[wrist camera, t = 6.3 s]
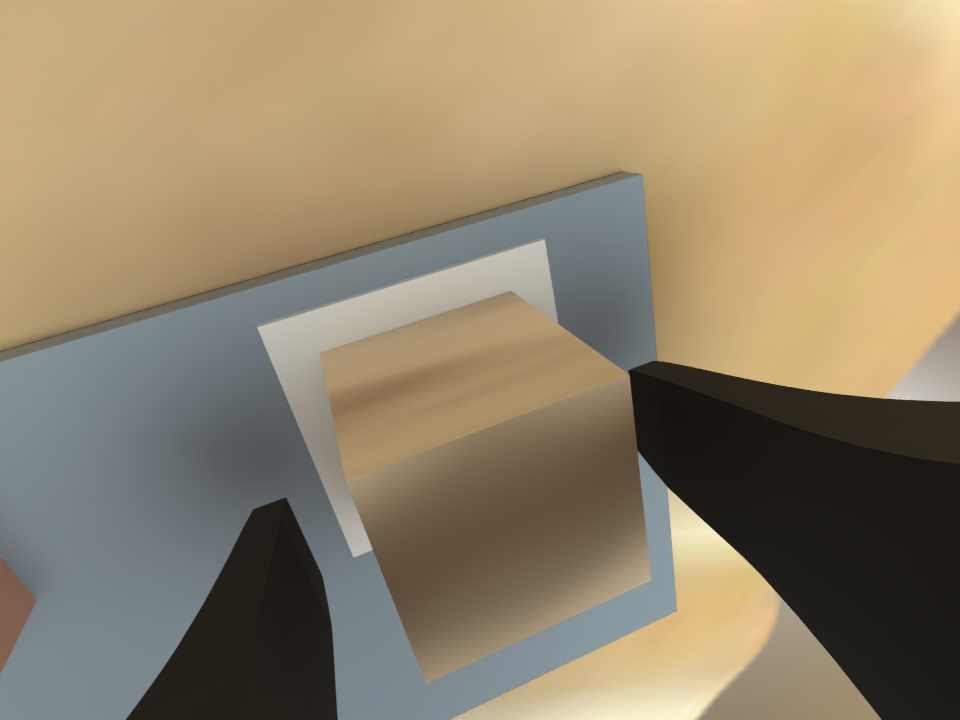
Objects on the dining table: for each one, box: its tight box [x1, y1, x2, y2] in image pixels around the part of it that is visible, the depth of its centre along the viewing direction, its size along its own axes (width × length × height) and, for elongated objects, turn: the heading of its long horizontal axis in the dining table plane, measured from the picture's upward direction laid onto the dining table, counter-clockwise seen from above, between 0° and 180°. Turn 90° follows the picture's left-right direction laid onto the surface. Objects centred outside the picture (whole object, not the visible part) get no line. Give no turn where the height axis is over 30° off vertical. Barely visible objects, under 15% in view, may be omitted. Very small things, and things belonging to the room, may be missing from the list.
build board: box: [0, 172, 677, 720], centre depth 15 cm, size 15×22×1 cm
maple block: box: [320, 291, 651, 684], centre depth 12 cm, size 4×4×5 cm
